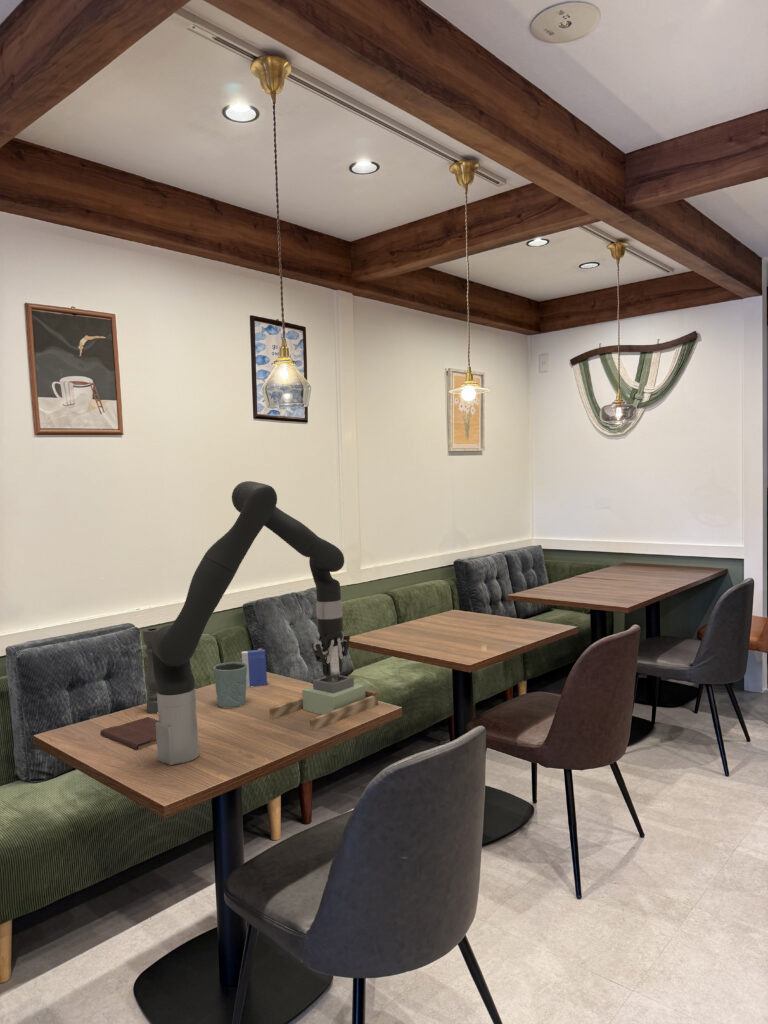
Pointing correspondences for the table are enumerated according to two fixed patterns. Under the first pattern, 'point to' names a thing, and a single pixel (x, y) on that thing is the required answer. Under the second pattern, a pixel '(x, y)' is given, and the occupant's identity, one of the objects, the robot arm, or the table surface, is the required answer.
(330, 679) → the handle
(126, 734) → the notebook
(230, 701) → the teal cup
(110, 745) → the table surface
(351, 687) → the green stepped block
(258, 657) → the walkman
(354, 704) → the bay
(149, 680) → the candle holder
